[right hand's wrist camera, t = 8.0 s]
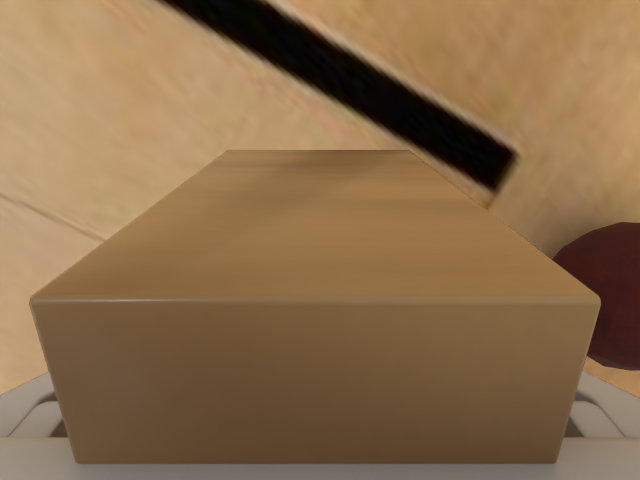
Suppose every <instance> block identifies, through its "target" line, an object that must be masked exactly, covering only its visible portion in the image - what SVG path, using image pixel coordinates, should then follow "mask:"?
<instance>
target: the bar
mask: <svg viewBox="0 0 640 480" xmlns="http://www.w3.org/2000/svg"><path fill="white" fill-rule="evenodd" d="M29 305H30V309H31V312H32V315H33V319H34V322H35V326H36V329H37V332H38V336H39V339H40V343H41V346H42V350H43V353H44V356H45V360H46V363H47V367H48V370H49V373H50V377H51V380H52V384H53V387H54V390H55V394H56V397H57V401H58V404H59V408H60V411H61V414H62V418H63V421H64V425H65V428H66V431H67V435H68V438H69V442H70V445H71V449H72V452H73V455H74V459H75V462H76V463H78V464H553V463H556V462H557V458H558V455H559V451H560V448H561V444H562V441H563V437H564V433H565V430H566V426H567V423H568V419H569V416H570V412H571V409H572V405H573V402H574V398H575V395H576V391H577V388H578V384H579V381H580V377H581V373H582V370H583V366H584V363H585V359H586V356H587V352H588V349H589V345H590V342H591V338H592V335H593V331H594V328H595V324H596V321H597V317H598V314H599V310H600V306H601V300H600V298H599V296H598V295H597V294H596V293H594V292H593V291H592V290H590V289H589V288H588V287H587V286H585V285H584V284H583V283H581V282H580V281H579V280H577V279H576V278H575V277H573V276H572V275H571V274H570V273H568V272H567V271H566V270H564V269H563V268H562V267H560V266H559V265H558V264H557V263H555V262H554V261H553V260H551V259H550V258H549V257H547V256H546V255H545V254H544V253H542V252H541V251H540V250H538V249H537V248H536V247H534V246H533V245H532V244H530V243H529V242H528V241H527V240H525V239H524V238H523V237H521V236H520V235H519V234H517V233H516V232H515V231H514V230H512V229H511V228H510V227H508V226H507V225H506V224H504V223H503V222H502V221H500V220H499V219H498V218H497V217H495V216H494V215H493V214H491V213H490V212H489V211H487V210H486V209H485V208H484V207H482V206H481V205H480V204H478V203H477V202H476V201H474V200H473V199H472V198H471V197H469V196H468V195H467V194H465V193H464V192H463V191H461V190H460V189H459V188H457V187H456V186H455V185H454V184H452V183H451V182H450V181H448V180H447V179H446V178H444V177H443V176H442V175H441V174H439V173H438V172H437V171H435V170H434V169H433V168H431V167H430V166H429V165H428V164H426V163H425V162H424V161H422V160H421V159H420V158H418V157H417V156H416V155H414V154H413V153H412V152H411V151H409V150H228V151H226V152H225V153H223V154H222V155H221V156H219V157H218V158H217V159H215V160H214V161H213V162H211V163H210V164H209V165H207V166H206V167H205V168H203V169H202V170H201V171H199V172H198V173H197V174H195V175H194V176H192V177H191V178H190V179H188V180H187V181H186V182H184V183H183V184H182V185H180V186H179V187H178V188H176V189H175V190H174V191H172V192H171V193H170V194H168V195H167V196H166V197H164V198H163V199H162V200H160V201H159V202H157V203H156V204H155V205H153V206H152V207H151V208H149V209H148V210H147V211H145V212H144V213H143V214H141V215H140V216H139V217H137V218H136V219H135V220H133V221H132V222H131V223H129V224H128V225H127V226H125V227H124V228H122V229H121V230H120V231H118V232H117V233H116V234H114V235H113V236H112V237H110V238H109V239H108V240H106V241H105V242H104V243H102V244H101V245H100V246H98V247H97V248H96V249H94V250H93V251H92V252H90V253H89V254H87V255H86V256H85V257H83V258H82V259H81V260H79V261H78V262H77V263H75V264H74V265H73V266H71V267H70V268H69V269H67V270H66V271H65V272H63V273H62V274H61V275H59V276H58V277H57V278H55V279H54V280H52V281H51V282H50V283H48V284H47V285H46V286H44V287H43V288H42V289H40V290H39V291H38V292H36V293H35V294H34V295H32V296H31V298H30V303H29Z"/></svg>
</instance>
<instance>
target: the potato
mask: <svg viewBox="0 0 640 480" xmlns="http://www.w3.org/2000/svg"><path fill="white" fill-rule="evenodd" d="M552 260H553V261H554V262H555V263H557V264H558V265H559V266H560V267H562V268H563V269H564V270H566V271H567V272H568V273H570V274H571V275H572V276H573V277H575V278H576V279H577V280H579V281H580V282H581V283H583V284H584V285H585V286H587V287H588V288H589V289H590V290H592V291H593V292H594V293H596V294H597V295H598V296H599V298H600V300H601V306H600V310H599V314H598V317H597V321H596V324H595V328H594V331H593V335H592V338H591V342H590V345H589V349H588V352H587V356H588V357H590V358H591V359H593V360H595V361H596V362H598V363H600V364H601V365H603V366H607V367H613V368H619V369H625V370H640V223H626V222H620V223H617V224H613V225H610V226H607V227H603V228H600V229H597V230H594V231H591V232H589V233H587V234H584V235H583V236H581V237H579V238H578V239H576V240H575V241H573V242H571V243H570V244H568V245H567V246H565V247H563V248H562V249H561V250H560V251H559V253H558V254H557V255H556V256H555V257H554V258H553V259H552Z"/></svg>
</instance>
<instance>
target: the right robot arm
mask: <svg viewBox="0 0 640 480" xmlns="http://www.w3.org/2000/svg"><path fill="white" fill-rule="evenodd" d="M0 480H640V398H638V397H636V396H634V395H632V394H630V393H628V392H626V391H624V390H622V389H620V388H618V387H616V386H614V385H612V384H610V383H608V382H606V381H604V380H602V379H600V378H598V377H595V376H593V375H591V374H589V373H587V372H585V371H583V370H582V373H581V377H580V381H579V384H578V388H577V391H576V395H575V398H574V402H573V405H572V409H571V412H570V416H569V419H568V423H567V426H566V430H565V433H564V437H563V441H562V444H561V448H560V451H559V455H558V458H557V462H556V463H553V464H78V463H76V462H75V459H74V455H73V452H72V449H71V445H70V442H69V438H68V435H67V431H66V428H65V425H64V421H63V418H62V414H61V411H60V408H59V404H58V401H57V397H56V394H55V390H54V387H53V384H52V380H51V377H50V373H49V372H47V373H45V374H43V375H41V376H39V377H37V378H35V379H33V380H31V381H29V382H27V383H25V384H22V385H20V386H18V387H16V388H14V389H12V390H10V391H8V392H6V393H4V394H2V395H0Z"/></svg>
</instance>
